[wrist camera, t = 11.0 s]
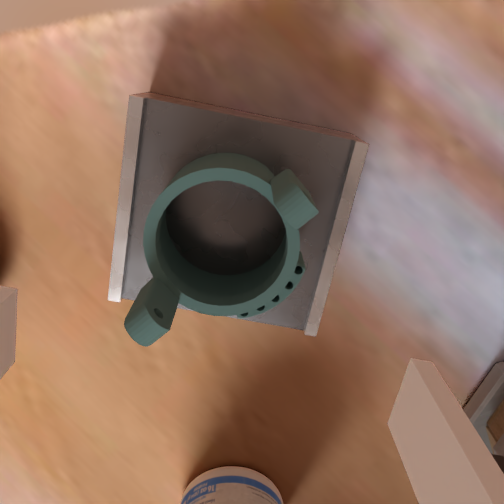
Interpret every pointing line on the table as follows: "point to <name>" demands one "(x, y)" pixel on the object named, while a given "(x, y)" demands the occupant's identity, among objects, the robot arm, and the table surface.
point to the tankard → (489, 410)
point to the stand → (232, 198)
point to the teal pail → (208, 284)
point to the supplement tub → (231, 488)
